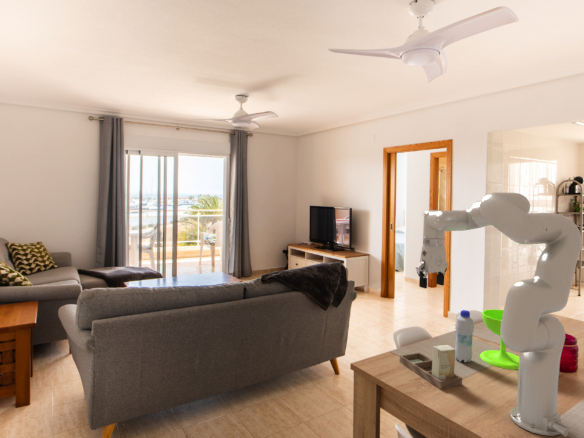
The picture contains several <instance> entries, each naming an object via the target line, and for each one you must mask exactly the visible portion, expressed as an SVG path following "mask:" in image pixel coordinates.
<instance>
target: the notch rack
mask: <svg viewBox="0 0 584 438" xmlns="http://www.w3.org/2000/svg"><path fill="white" fill-rule="evenodd" d="M415 359H420V360H422V362H417V363H412V362H411V361H409V360H415ZM399 363H400V364H402V365H403V366H405V367H406V368H408V369H409V370H410V371H412V372H414V373H415V374H417V375H418V376H419V377H421V378H422V379H424V380H425V381H427V382H428V383H430V384H431V385H433V386H434V387H436V388H438V390H444V389H448V388H453V387H458V386H463V377H462V376H460V375H459V374H456V373H455V372H454V378H452V379H447V380H442V381H440V380H438V379H437V378H435V377H434V376H432V370H428V371H426V370H424V369H430V368H432V358H430V357H428V356H427V355H425V354H423V353H422V352H420V351H419V352H414V353H408V354H402V355H399Z"/></svg>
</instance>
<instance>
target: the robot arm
mask: <svg viewBox="0 0 584 438" xmlns="http://www.w3.org/2000/svg"><path fill="white" fill-rule="evenodd" d="M530 209H531V204H530V201H529V199H528V198H527V196H525V195H524V194H521V193H518V192H501V191H500V192H491V193H488V194H486V195H485V196H483V198H482V199H481V200H477V201H475V202H474V203H473V204H472V206H471V208H468V209H464V210H461V209H460V210H459V209H458V210H440V209H439V210H438V209H435V210H434V209H430V210H429V209H428V210H425V211H424V213H423V230H422V231H423V232H422V247H421V252H420V260H419V263H418V264H417V265H416V266H415V269H416V273H417V275H418V278H419V283H418V286H419V288H422V289H427V288H428V278H427V277H428V274H435V273H436V280H435V284H436V285H438V286H444V285H445V275H446V272H447V271H448V267H449V262H447V252H446V246H445V245H444V244H445V241H444V240H445V232H457V231H458V232H462V231H463V232H464V231H470V230H476V229H481V228H485V227H488V226H492V227H494V228H495V229H497V230H498V231H500V232H501V233H502V234H503V235H504V236H506V237H507V238H509V239H510V240H511V241H513V242H515V243H517V244H519V245H520V244H521V245H539V244H540V245H542V244H545V248H544V249H543V251H542V252H541V254H540V256H539V257H538V260H537V263H536V268H535V272H534V274H533V277H532V278H528V279H526V278H525V279H521V280H518V281H516V282H515V283H513V285H511V287H510V288H509V289H508V291H507V294H506V298H505V301H504V308H503V310H504V311H503V316H502V321H501V328H500V333H501V336H500V339H501V338H502V340H503V342H504V344H505V345H506V348H508V349H509V350H510V351H512V352H514V353H518V354H519V357H520V358H519V369H518V373H517V374H518V377H517V392H516V393H517V396H516V397H517V398H516V406H515V407H513V408H512V409H511V410H510V412H509V413H510V414H509V415H510V419H511V420H512V422H513V423H515V424H516V425H517V426H519V428H522V429H523V430H526V431H529V432H530V433H533V434H536V435H541V436H549V437H551V436H552V437H555V436H557V435H562V436H564V437H568V436H569V433H570V432H569V431H570V425H568V424H567V423H564V422H562V420H561V414H560V413H558V398H559V397H558V396H559V395H558V393H559V392H558V391H559V378H560V377H559V376H560V366H561V365H560V364H561V357H562V352H563V348H564V345H565V341H566V332H565V331H566V330H565V327H564V325H563V323H562V322H561V320H559V319H558V318H557V317H556V316H554V315H553V313H557V312H560V311H562V310H564V309H565V307H566V306H567V304H568V300H569V297H570V292H571V290H572V289H571V288H572V285H573V284H572V283H573V281H574V276H575V270H576V266H577V263H578V259H579V257H580V254H581V249H582V244H583V243H582V242H583V239H582V234H581V231H580V229H579V228H578V226H577V224H575V222H574V221H573V220H571V219H570V218H569V217H568V216H565V215H562V214H559V213H554V212H553V213H552V212H534V213H533V212H530V211H531V210H530Z"/></svg>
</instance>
